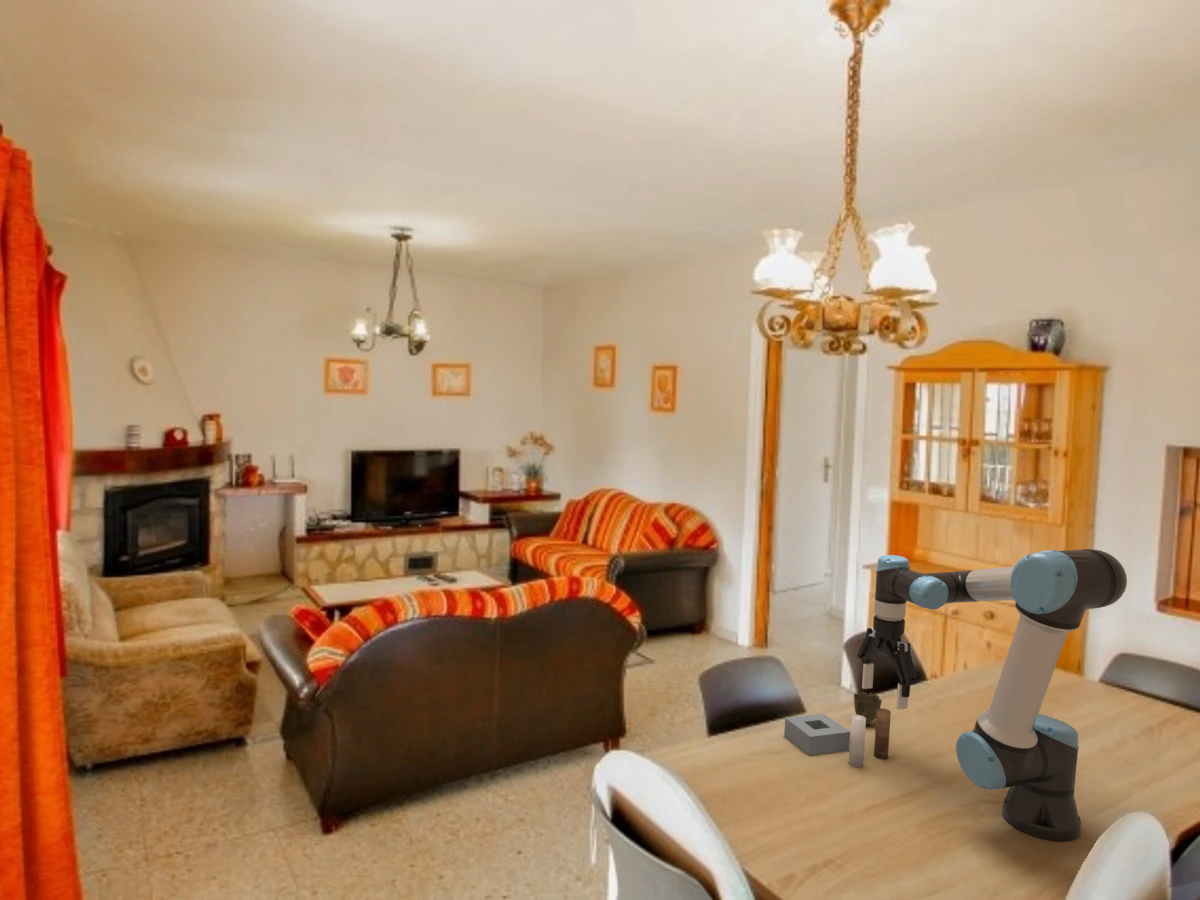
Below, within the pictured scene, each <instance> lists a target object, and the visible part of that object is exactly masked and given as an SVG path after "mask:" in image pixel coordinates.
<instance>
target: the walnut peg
mask: <svg viewBox="0 0 1200 900" xmlns="http://www.w3.org/2000/svg"><path fill="white" fill-rule="evenodd" d="M891 714H892V713H891V711H890V710H889V709H888V708H883V707H880V708H879V709H877V713H876V719H875V733H874V747H873V748H874V749H873V750H874V751H873V757H875V758H876V759H878V760H888V758H889V748H890V747H889V746H890V732H891V731H890V729H891Z"/></svg>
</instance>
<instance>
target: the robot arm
mask: <svg viewBox="0 0 1200 900" xmlns="http://www.w3.org/2000/svg"><path fill="white" fill-rule="evenodd" d="M910 567H911V566H910V560H909V559H908V558H907V557H905V556H901V555H893V554H884V555H881V556H879V558H878V559H877V565H876V570H875V573H876V574H875V577H876V578H875V592H874V604H873V605H874V607H873V614H874V616H873V622H872V627H867V629H866V634H865V637H864V640H863V642H862V643H861V646H860V649H859V650H858V652H857V658H858V659H860V661H861V663H862V673H861V674H862V680H861V689H863V690H868V689H873V685H874V683H873V682H874V668H875V664H874V659H876V658H877V657H878V656H879V654H880V653H884V654H886V655H888V658H889V659H890V660H891V661H892V663H893V667H894V669H895V671H896V674H897V677H898V679H899V682H898V683H897V694H896V695H897V696H896V707H895V708H896V709H897V710H898V711H899V710H907V709H908V708H909V707H908V705H909V697H910V693H911V686H912V685H917V684H918V679H917V675H916V671H915V667H914V666H915V665H914V662H913V658H912V653H911V643H909V642H902V639H901V638H902V636H903V635H904V634H905V626H906V620H905V619H904V618H906V612H907V611H906V610H907V602H909V603H911V604H914V605H916V606H917V607H920V608H921V609H922V608H923V609H928V610H932V611H933V610H935V611H936V610H939V609H940V608H942V607H943V606H944V605H945V604H955V603H957V604H959V603H974V602H975V603H976V602H992V601H993V602H997V601H998V602H999V601H1015V604H1014V608H1015V610H1016V611H1017V613H1018V614H1019V618H1018V621H1017V624H1016V628H1015V629H1014V630H1015V631H1014V633H1013V636H1012V639H1011V643H1010V645H1009V648H1008V651H1007V655H1006V657H1005V661H1004V663H1003V667H1002V668H1001V669H1002V670H1001V672H1000V676H999V679H998V681H997V683H996V684H997V685H996V687H995V690H994V694H993V697H992V698H991V699H992V700H991V703H990V706H989V708H988V710H987V709H986V710H983V711H981V712H980V713H979V714H978V716H977V719H976V721H975V725H974V727H973V729H972V731H971V730H968V731H965V732H963V733H961V734H960V735H959V736H958V738H957V740H956V744H955V754H956V758H957V760H958V763H959V766H960V768H961V770H962V772H963V773H964V775H965V776H966V777H967V778H968V780H969V781H970V782H971V783H973V784H974V785H975V786H977V787H978V788H981V789H983V790H988V791H989V790H1000V791H1001V790H1003V789H1006V788H1009V789H1008V791H1007V792H1006V795H1005V798H1004V799H1003V802H1002V810H1001V814H1002V816H1003V818H1004V819H1005V821H1006V822H1008V824H1009V825H1011V826H1012V827H1014V828H1015V829H1017V830H1019V831H1021V832H1023V833H1026V834H1028V835H1030V836H1033V837H1036V838H1038V839H1039V838H1040V839H1043V840H1044V839H1045V840H1048V841H1057V842H1068V841H1074V840H1076V839H1078V838H1079V837H1080V836H1081V832H1082V820H1081V817H1080V816H1079V812H1078V808H1077V803H1076V799H1075V786H1076V775H1077V764H1078V754H1079V753H1078V752H1079V749H1080V747H1079V734H1078V732H1077V730H1076V729H1075V727H1073V726H1072V725H1070V724H1069V723H1066V722H1065V721H1063V720H1059V719H1058V718H1055V717H1051V716H1049V715H1045V714H1040V710H1041V708H1042V704H1043V702H1044V699H1045V697H1046V693H1047V690H1048V689H1049V686H1050V682H1051V679H1052V677H1053V674H1054V671H1055V669H1056V666H1057V664H1058V663H1057V662H1058V660H1059V657H1060V654H1061V652H1062V649H1063V647H1064V643H1065V641H1066V638H1067V635H1068V633H1070V632H1073V631H1076V630H1078V629H1079V628H1080V625H1081V623H1082V621H1083V617H1084V615H1085V613H1086V611H1087V610H1093V609H1100V608H1101V609H1102V608H1105V607H1108V606H1111V605H1113V604H1115V603H1117V601H1119V600H1120V599H1121V597H1123V595H1124V594H1125V592H1126V589H1127V584H1128V579H1127V573H1126V570H1125V567H1123V565H1122V563H1121V562H1120V561H1119V560H1118V559H1117V558H1116V557H1114V556H1113V555H1112V554H1110V553H1108V552H1106V551H1103V550H1099V549H1095V548H1092V549H1091V548H1083V549H1070V550H1069V549H1068V550H1066V549H1065V550H1056V549H1055V550H1054V549H1053V550H1052V549H1049V550H1048V549H1047V550H1041V551H1037V552H1031V553H1029V554H1027V555H1024V556H1023V557H1021V559H1019V560H1018V561H1017V562H1016V563H1015V565H1014V566H1002V567H993V568H991V567H990V568H982V569H968V570H957V571H955V570H954V571H945V572H944V571H943V572H940V571H939V572H926V573H925V572H923V573H922V572H919V571H915V570H912V569H910Z"/></svg>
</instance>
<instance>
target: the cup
mask: <svg viewBox="0 0 1200 900" xmlns="http://www.w3.org/2000/svg"><path fill="white" fill-rule="evenodd" d="M853 700H854V713H855V715H861V716H864V717H865V718H866V726H865V727H870V726H873V725H874V721H876V713H877V709H879V708H882V707H881V705H882V701H883V698H880V695H877V693H875V694H872V692H869V694H868V692H866V691H865V692H863V691H861V693H860V692H857V693H856V692H855V693H854V694H853Z"/></svg>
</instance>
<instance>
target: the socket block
mask: <svg viewBox="0 0 1200 900" xmlns="http://www.w3.org/2000/svg"><path fill="white" fill-rule="evenodd" d="M783 736H784V737H785V738H786V739H787V740H789V741H790V740H791V741H792V742H791V741H790V742H791V743H792V744H794V745H795V746H796V745H797V746H796V747H798V748H799V749H800V750H801V751H802V752H804V753H805V754H807V755H808V756H811V757H812V756H816V755H817V756H818V755H825V754H832V753H840V752H846V751H847V752H848V751H850V737H851V730H849V729H847V728H845V727H844V726H842V725H841V724H839V723H838V722H837V721H836V720H834V719H832V718H831V717H829V716H828V715H826V714H825V713H817V714H809V715H806V714H805V715H797V716H790V717H788V716H787V717H785V718H784V734H783Z"/></svg>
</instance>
